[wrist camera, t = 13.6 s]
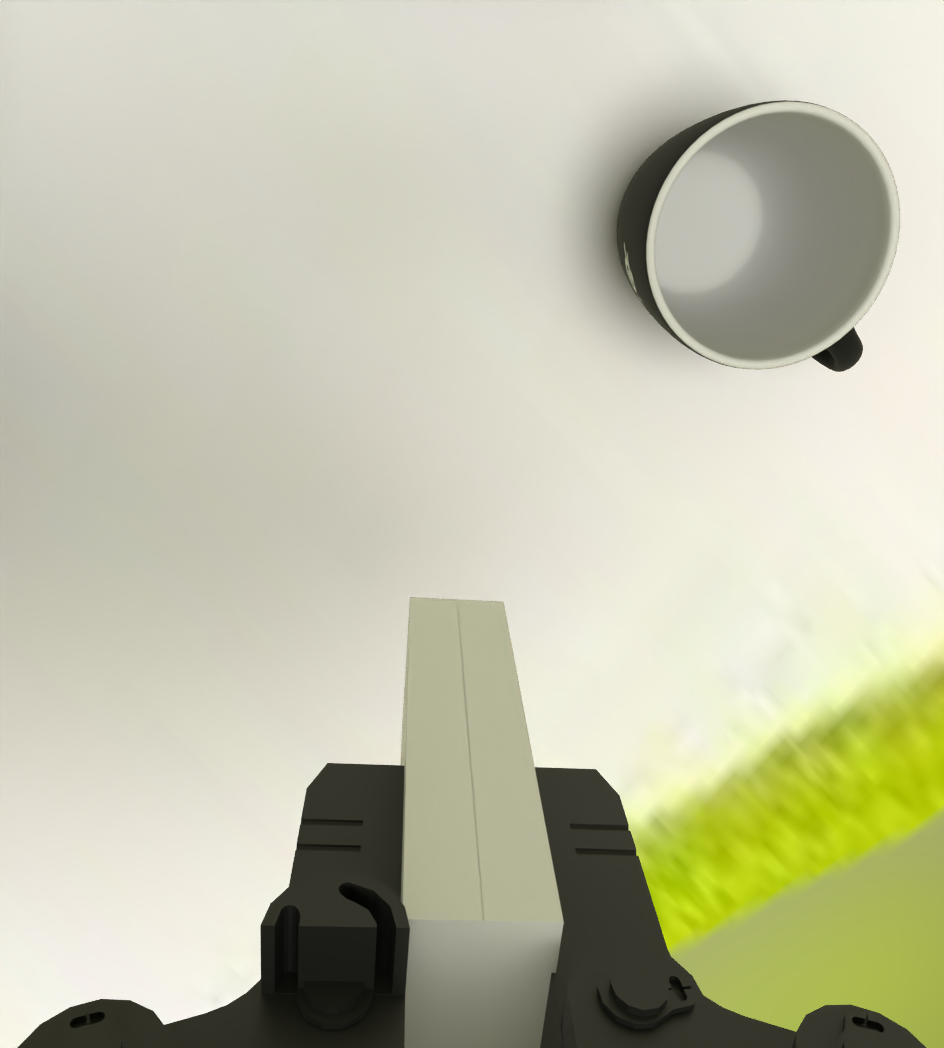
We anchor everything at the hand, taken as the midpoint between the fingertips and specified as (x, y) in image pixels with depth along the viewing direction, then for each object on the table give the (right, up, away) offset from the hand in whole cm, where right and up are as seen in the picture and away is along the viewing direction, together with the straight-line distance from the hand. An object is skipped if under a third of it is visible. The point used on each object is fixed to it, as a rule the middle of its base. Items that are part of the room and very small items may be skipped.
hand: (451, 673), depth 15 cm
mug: (+11, +15, +26) cm, 32 cm away
